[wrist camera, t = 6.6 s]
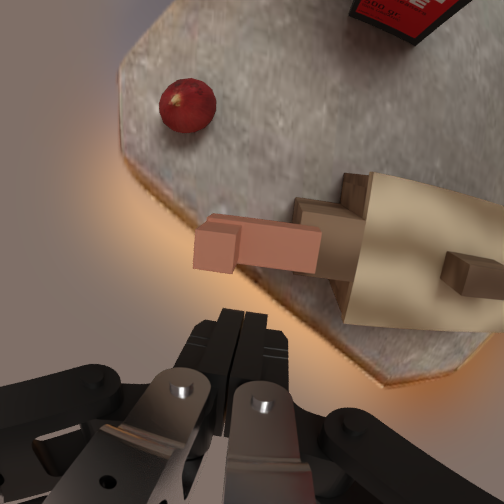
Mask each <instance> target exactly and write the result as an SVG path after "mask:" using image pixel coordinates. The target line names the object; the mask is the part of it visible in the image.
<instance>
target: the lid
mask: <svg viewBox="0 0 504 504" xmlns="http://www.w3.org/2000/svg"><path fill="white" fill-rule="evenodd" d="M362 219H364V220H365V221H366V225H365V230H364V235H363V241H362V246H361V251H360V256H359V260H358V265H357V270H356V274H355V279H354V282H350V283H349V287H348V291H347V296H346V300H345V304H344V308H343V312H342V316H341V318H342V321H343V324H353V325H364V326H375V327H388V328H402V329H417V330H435V331H457V332H495V333H504V206H501V205H498V204H495V203H492V202H489V201H486V200H482V199H479V198H476V197H472V196H469V195H465V194H462V193H458V192H455V191H451V190H448V189H444V188H440V187H436V186H432V185H428V184H424V183H420V182H416V181H412V180H408V179H403V178H399V177H394V176H390V175H385V174H380V173H376V172H369V179H368V186H367V193H366V199H365V205H364V211H363V217H362Z"/></svg>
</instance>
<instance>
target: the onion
mask: <svg viewBox="0 0 504 504" xmlns="http://www.w3.org/2000/svg"><path fill="white" fill-rule="evenodd" d="M159 112H160V115H161V117H162V120H163V122H164V124H166V125H167V126H168V127H169V128H170V129H172V130H173V131H176V132H180V133H192V132H196V131H198V130H201V129H203V128H205V127H206V126H207V125H208V124H209V123H210V122H211V121H212V119H213V117H214V114H215V112H216V98H215V96H214V93H213V90H212V89H211V88H210V87H209V86H208V85H207V84H206V83H204V82H202V81H199V80H196V79H193V78H188V79H180V80H177V81H176V82H174V83H173V84H171V85H170V86H168V88H167V89H166V90H165V91H164V93H163V94H162V96H161V99H160V102H159Z"/></svg>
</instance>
